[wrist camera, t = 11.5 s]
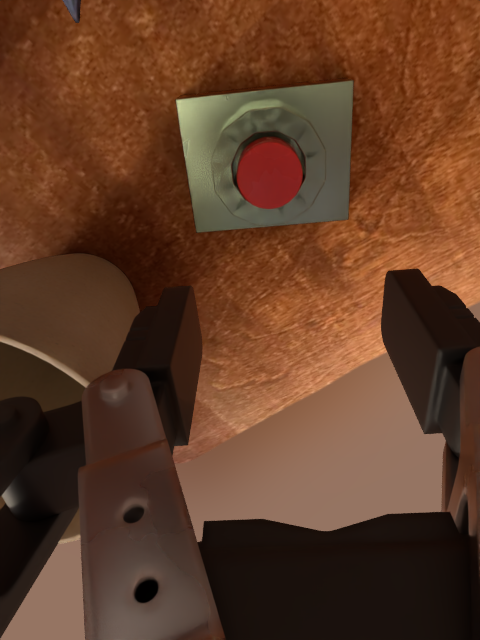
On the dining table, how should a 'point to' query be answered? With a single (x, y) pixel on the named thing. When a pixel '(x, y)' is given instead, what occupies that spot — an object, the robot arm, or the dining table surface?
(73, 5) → the bird
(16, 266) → the plant pot
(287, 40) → the dining table surface
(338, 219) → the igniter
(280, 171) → the button
